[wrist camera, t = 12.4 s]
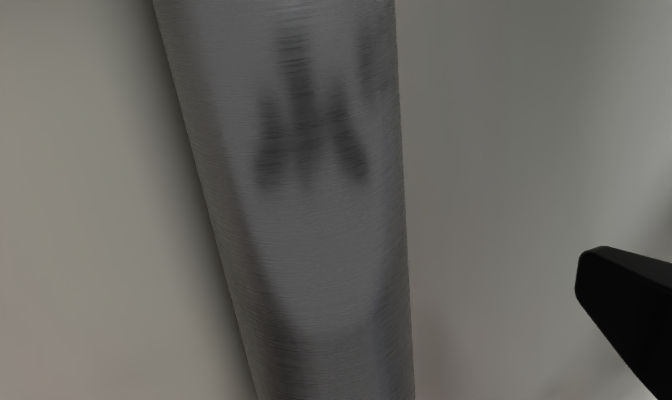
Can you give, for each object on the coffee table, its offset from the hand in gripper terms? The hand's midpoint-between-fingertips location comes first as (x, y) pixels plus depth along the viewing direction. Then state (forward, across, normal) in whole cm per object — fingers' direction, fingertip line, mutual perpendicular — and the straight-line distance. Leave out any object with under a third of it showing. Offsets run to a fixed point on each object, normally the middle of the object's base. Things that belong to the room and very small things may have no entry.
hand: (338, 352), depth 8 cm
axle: (+4, -1, -3) cm, 4 cm away
